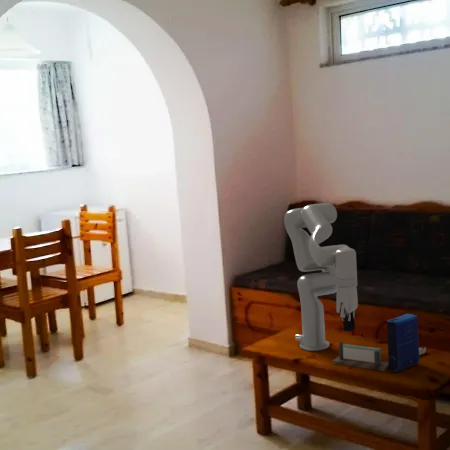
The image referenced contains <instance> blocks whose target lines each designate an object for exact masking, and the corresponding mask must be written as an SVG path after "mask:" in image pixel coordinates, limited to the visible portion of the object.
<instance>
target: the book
mask: <svg viewBox="0 0 450 450" xmlns="http://www.w3.org/2000/svg"><path fill="white" fill-rule="evenodd" d="M386 337H387V339H386V340H387V357H388V358H387V360H388V361H387V362H388V368H387V370H388V371H390V372H392V373H397V372H401V371H404V370H407V369H409V368H411V367H412V366H416V365H417V364H418V363H420V355H419V348H420V346H419V344H420V343H419V341H420V340H419V318H418V315H414V314H412V313H405V314H403V315H401V316H398V317H395V318H394V317H393V318H390V319H387V320H386Z"/></svg>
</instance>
